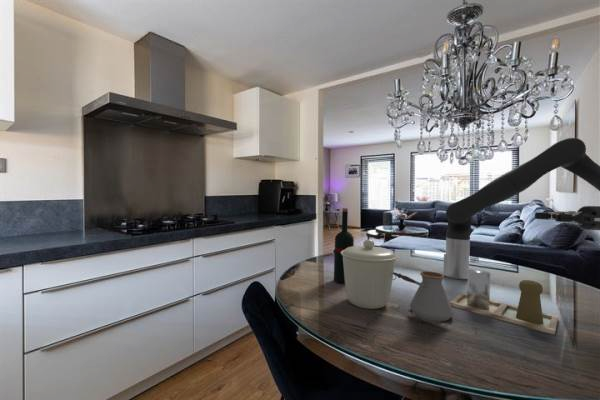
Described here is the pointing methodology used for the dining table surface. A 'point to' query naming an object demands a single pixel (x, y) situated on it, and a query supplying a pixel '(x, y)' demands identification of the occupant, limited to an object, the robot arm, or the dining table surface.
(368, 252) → the canister
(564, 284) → the dining table surface
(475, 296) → the clear glass tumbler
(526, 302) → the olive brown pepper mill
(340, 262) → the wine bottle
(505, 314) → the wooden tray
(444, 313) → the coffee pot
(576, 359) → the dining table surface
